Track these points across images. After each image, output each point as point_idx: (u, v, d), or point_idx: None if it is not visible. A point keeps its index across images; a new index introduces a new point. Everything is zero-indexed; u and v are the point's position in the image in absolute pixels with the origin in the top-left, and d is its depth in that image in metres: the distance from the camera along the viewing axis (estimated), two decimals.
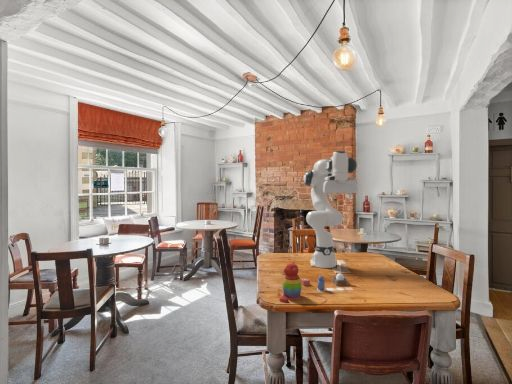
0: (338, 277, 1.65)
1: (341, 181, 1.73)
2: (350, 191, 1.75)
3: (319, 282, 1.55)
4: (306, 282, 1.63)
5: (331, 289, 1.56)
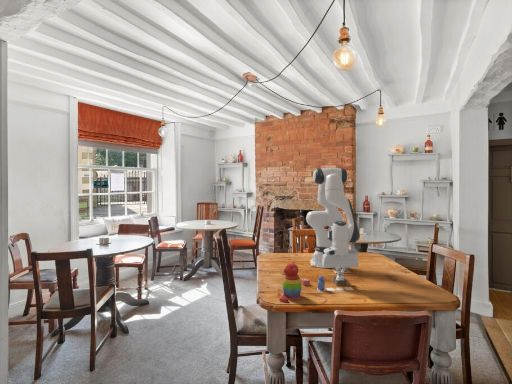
0: (338, 279, 1.65)
1: (341, 255, 1.62)
2: (351, 265, 1.64)
3: (319, 282, 1.55)
4: (306, 282, 1.63)
5: (331, 289, 1.56)
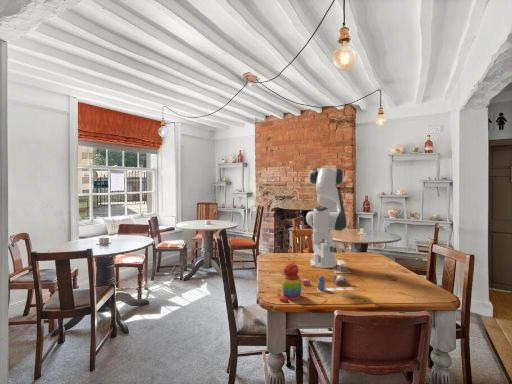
0: (338, 279, 1.65)
1: (315, 241, 1.56)
2: (321, 255, 1.50)
3: (319, 282, 1.55)
4: (306, 282, 1.63)
5: (331, 289, 1.56)
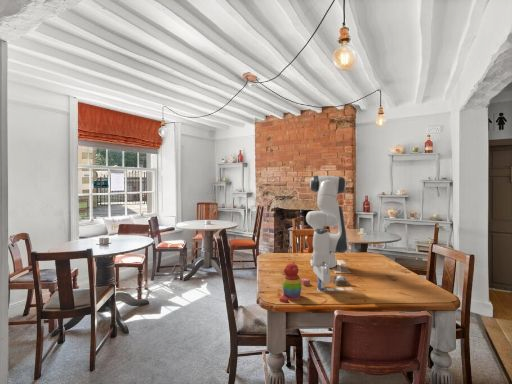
0: (338, 279, 1.65)
1: (315, 264, 1.56)
2: (320, 278, 1.50)
3: (319, 282, 1.55)
4: (306, 282, 1.63)
5: (331, 289, 1.56)
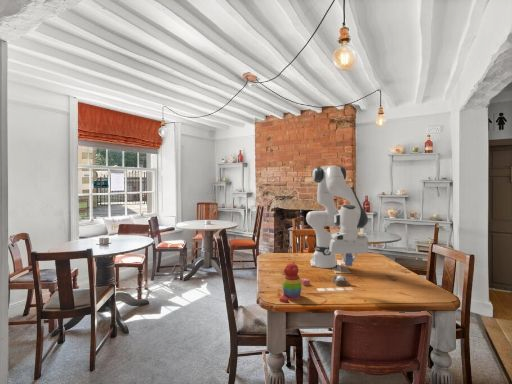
0: (338, 279, 1.65)
1: (350, 240, 1.54)
2: (360, 251, 1.55)
3: (351, 257, 1.56)
4: (306, 282, 1.63)
5: (331, 289, 1.56)
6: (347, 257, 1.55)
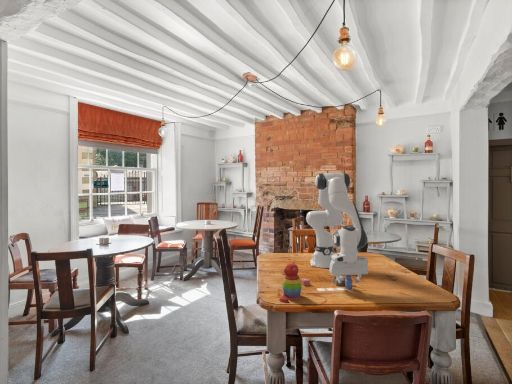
0: None
1: (350, 262, 1.54)
2: (360, 272, 1.56)
3: (351, 281, 1.56)
4: (306, 282, 1.63)
5: (331, 289, 1.56)
6: (347, 281, 1.56)
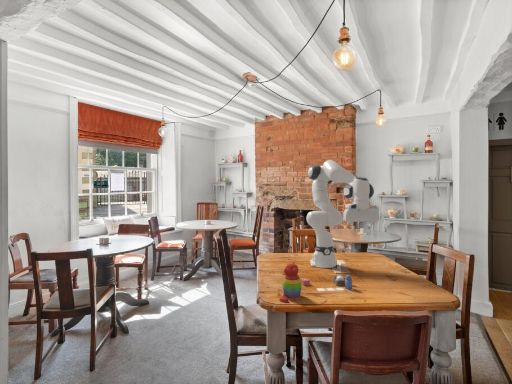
0: (338, 279, 1.65)
1: (363, 209, 1.67)
2: (372, 219, 1.69)
3: (351, 281, 1.56)
4: (306, 282, 1.63)
5: (331, 289, 1.56)
6: (347, 281, 1.56)
